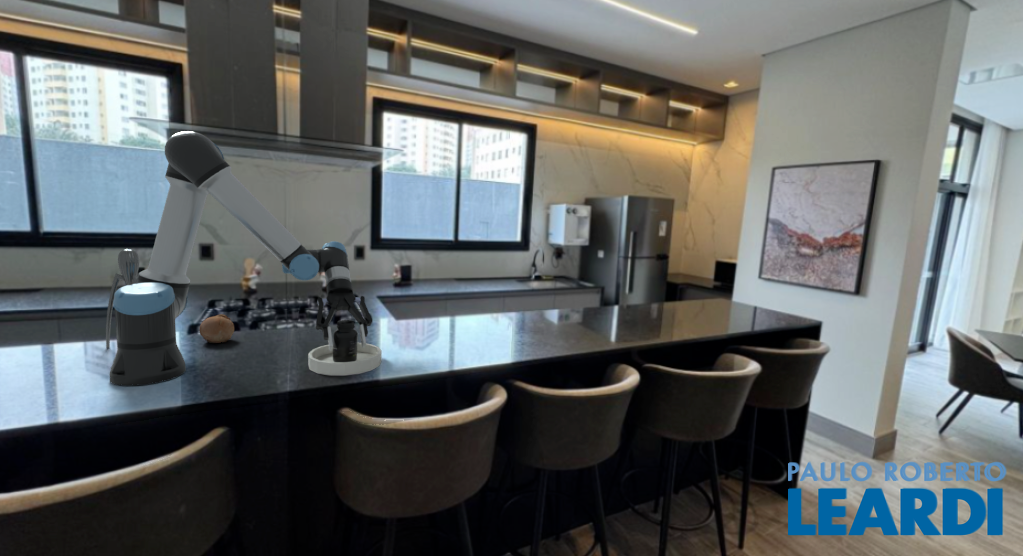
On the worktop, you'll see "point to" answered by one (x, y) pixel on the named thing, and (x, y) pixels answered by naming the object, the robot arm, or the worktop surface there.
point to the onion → (217, 329)
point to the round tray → (324, 364)
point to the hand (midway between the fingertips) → (347, 347)
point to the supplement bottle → (345, 342)
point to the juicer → (129, 271)
